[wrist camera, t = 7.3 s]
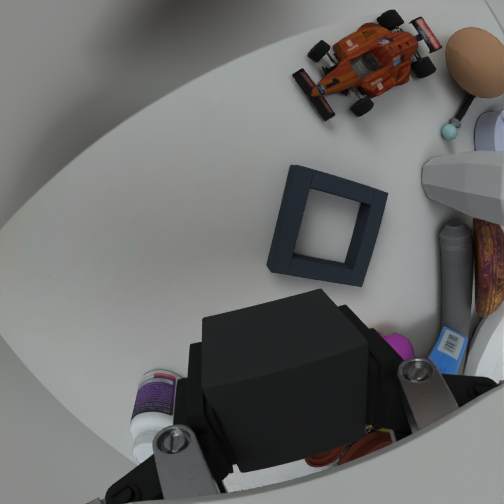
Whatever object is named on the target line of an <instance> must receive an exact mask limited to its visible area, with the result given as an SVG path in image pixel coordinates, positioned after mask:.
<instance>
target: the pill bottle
mask: <svg viewBox="0 0 504 504" xmlns="http://www.w3.org/2000/svg"><path fill="white" fill-rule="evenodd" d="M178 379H182V378H181V377H180V376H178V375H177V374H175V373H172V372H169V371H165V370H155V371H151V372H149V373H147V374H146V375H144V376H143V377H142V379H141V381H140V384H139V387H138V392H137V396H136V401H135V405H134V410H133V414H132V418H131V423H130V433H131V435H132V437H133V439H134V440H135V441H134V446H133V455H134V457H135V458H136V459H137V460H138V461H140V462H141V463H142V462H143V461H145V460H146V459H147V458H149V457H150V456H151V455H152V454H154V452H153V447H152V441H153V439H154V437H155V435H156V434H157V433H158V432H159V431H160V430H162V429H163V428H165V427H168V426H171V425H173V416H174V405H175V395H176V385H177V380H178Z"/></svg>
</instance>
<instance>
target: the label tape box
mask: <svg viewBox="0 0 504 504" xmlns="http://www.w3.org/2000/svg"><path fill="white" fill-rule="evenodd" d="M467 341H468V338H466V337H465V336H463V335H462V334H460V333H458V332H456V331H454V330H452V329H450V328H448V327H445V326H444V327H443V329H442V331H441V332H440V335H439V336H438V338H437V340H436V342H435V344H434V345H433V347H432V349H431V351H430V352H429V354H428V356H427V357H426V358H427V359H429V360H431V361H433V362H434V363H435V365H436V366H437V368H438V369H439V371H440V373H444V374H454V375H456V374H457V371H458V368H459V366H460V363H461V360H462V357H463V354H464V351H465V348H466V344H467Z"/></svg>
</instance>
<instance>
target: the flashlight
mask: <svg viewBox="0 0 504 504" xmlns="http://www.w3.org/2000/svg"><path fill="white" fill-rule="evenodd" d="M439 235H440V249H441V269H442V318H441V331H442V329H443V327H444V326H445V327H448V328H450V329H452V330H454V331H456V332H458V333H460V334H462V335H463V336H465V337H466V338H468V336H469V327H470V317H471V304H472V285H473V239H472V230H471V229H470V228H468V227H467V226H466V225H465V224H464V223H463V222H460V221H454V222H449V223H447V224H446V226H445V227H444V228H443V229H442V230H441V232H440V233H439ZM467 344H468V341H467ZM467 344H466V348H465V351H464V354H463V357H462V360H461V363H460V366H459V368H458V371H457V374H456V375H463V369H464V363H465V357H466V351H467Z"/></svg>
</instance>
